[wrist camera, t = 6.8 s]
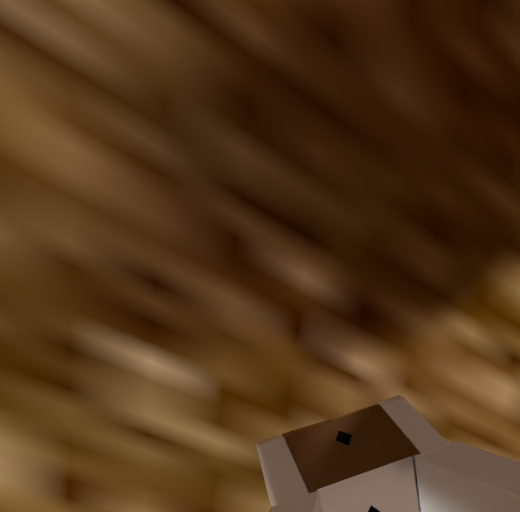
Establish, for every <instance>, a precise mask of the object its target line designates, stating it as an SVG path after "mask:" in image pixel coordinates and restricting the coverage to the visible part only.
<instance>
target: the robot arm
mask: <svg viewBox="0 0 520 512" xmlns="http://www.w3.org/2000/svg"><path fill="white" fill-rule="evenodd" d="M257 450H258V454H259V458H260V463H261V467H262V471H263V475H264V480H265V484H266V488H267V492H268V496H269V499H270V503H271V508H270V511H269V512H520V462H518V461H515V460H512V459H509V458H506V457H502V456H499V455H496V454H493V453H490V452H487V451H484V450H481V449H478V448H475V447H472V446H469V445H466V444H462V443H459V442H453V443H450V444H449V443H448V442H447V441H446V440H445V439H444V438H443V437H442V436H441V435H440V434H439V433H438V432H437V431H436V430H435V429H434V428H433V427H432V426H431V425H430V424H429V423H428V422H427V421H426V420H425V419H424V418H423V417H422V416H421V415H420V414H419V413H418V412H417V411H416V410H415V409H414V407H413V406H412V405H411V404H410V403H409V402H408V401H407V400H406V399H405V398H404V397H402V396H399V395H398V396H395V397H392V398H389V399H387V400H384V401H381V402H378V403H376V404H375V405H372V406H369V407H366V408H363V409H360V410H357V411H354V412H351V413H348V414H345V415H343V416H340V417H337V418H334V419H331V420H326V421H323V422H320V423H316V424H313V425H310V426H307V427H303V428H300V429H297V430H294V431H290V432H287V433H284V434H282V435H278V436H275V437H272V438H269V439H265V440H262V441H259V442H257Z"/></svg>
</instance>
